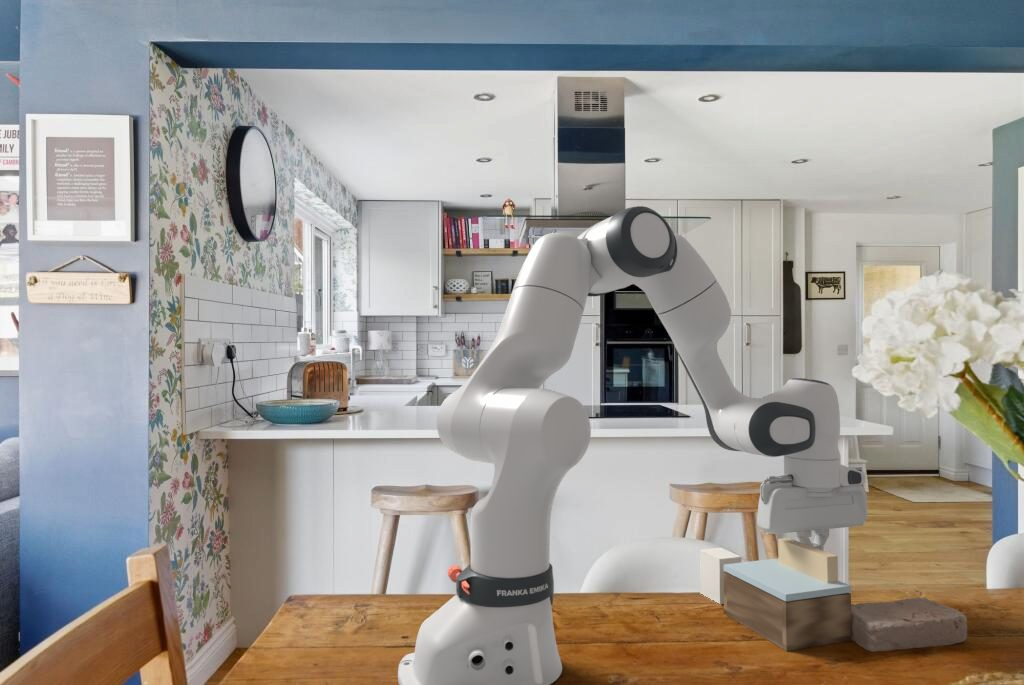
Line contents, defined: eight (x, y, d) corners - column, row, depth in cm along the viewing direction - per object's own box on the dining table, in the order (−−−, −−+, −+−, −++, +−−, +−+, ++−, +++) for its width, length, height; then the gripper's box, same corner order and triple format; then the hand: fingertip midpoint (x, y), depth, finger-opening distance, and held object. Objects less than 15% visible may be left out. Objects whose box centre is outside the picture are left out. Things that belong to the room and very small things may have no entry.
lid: (785, 601, 97) (785, 567, 97) (723, 570, 112) (723, 540, 112) (850, 592, 101) (850, 559, 101) (782, 563, 115) (782, 534, 115)
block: (719, 605, 115) (719, 559, 115) (700, 593, 121) (699, 549, 121) (741, 602, 117) (741, 556, 117) (721, 591, 122) (720, 547, 122)
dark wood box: (786, 651, 97) (785, 602, 97) (724, 613, 111) (723, 571, 112) (851, 640, 101) (850, 593, 101) (783, 605, 115) (782, 564, 115)
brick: (872, 655, 96) (871, 622, 97) (834, 631, 105) (834, 601, 105) (970, 646, 99) (970, 614, 99) (926, 624, 108) (926, 595, 108)
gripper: (773, 480, 107) (774, 566, 107) (873, 473, 113) (874, 555, 113) (748, 473, 113) (749, 555, 113) (844, 467, 119) (845, 545, 119)
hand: (812, 555), depth 113 cm, fingers closed
